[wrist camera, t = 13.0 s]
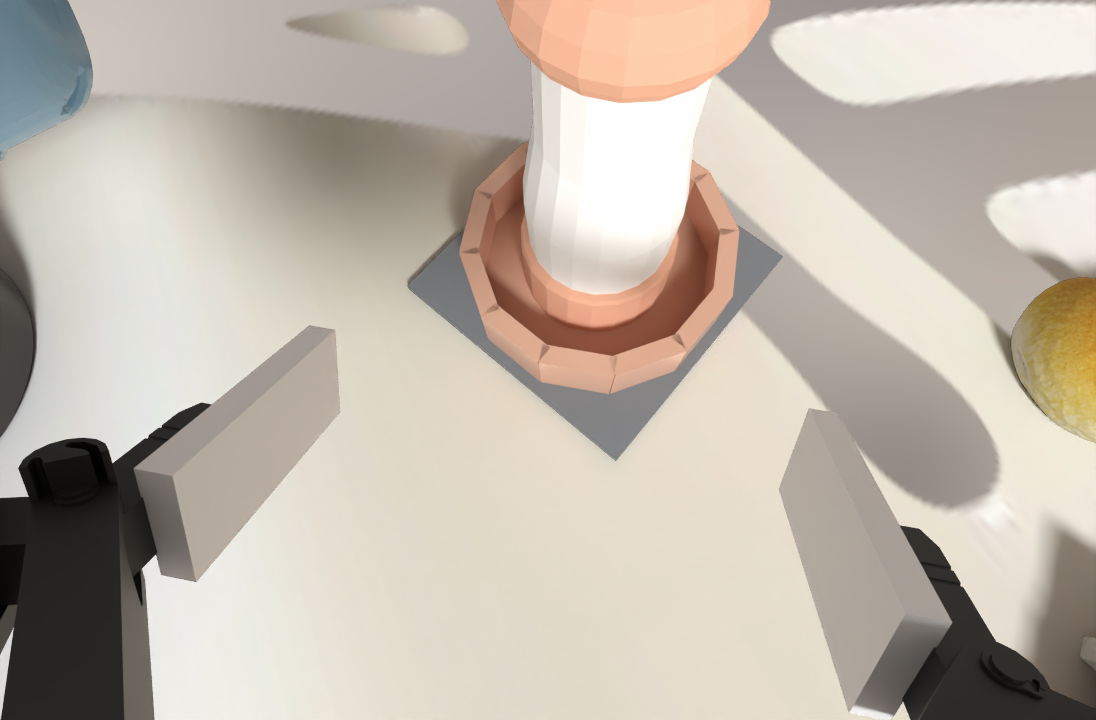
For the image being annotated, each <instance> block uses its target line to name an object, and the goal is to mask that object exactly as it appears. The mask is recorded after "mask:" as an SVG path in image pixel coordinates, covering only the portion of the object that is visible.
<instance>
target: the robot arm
mask: <svg viewBox="0 0 1096 720" xmlns="http://www.w3.org/2000/svg"><path fill="white" fill-rule="evenodd" d="M92 79H93V71H92V64H91V60H90V55H89V51H88V48H87V45H86V42H85V39H84V36H83V34H82V31H81V29H80V27H79V24H78V22H77V20H76V18H75V15H74V13H73V11H72V9H71V7H70V5H69V2H68V1H67V0H0V161H1V160H2V159H3V158H4V156H5V154H6V151H7V150H8V149H10V148H12V147H14V146H16V145H18V144H20V143H22V142H24V141H26V140H28V139H30V138H32V137H34V136H36V135H38V134H39V133H41V132H43V131H45V130H47V129H49V128H51V127H53V126H55V125H57V124H59V123H61V122H63V121H65V120H67V119H69V118H71V117H72V116H74V115H75V114H76V113H77V112H78V111H80V110H81V109H82V107H83V106H84V105H85V103H86V102H87V100H88V98H89V95H90V92H91V88H92ZM32 355H33V331H32V324H31V319H30V315H29V311H28V308H27V305H26V303H25V301H24V299H23V297H22V295H21V293H20V291H19V290H18V288H17V287H16V285H15V284H14V283H13V282H12V280H11V279H10V278H9V277H8V276H7V275H6V274H5V273H4V272H3V271H2V270H0V436H1V435H2V433H3V432H4V430H5V429H6V427H7V426H8V424H9V422H10V420H11V419H12V417H13V415H14V413H15V411H16V409H17V407H18V405H19V403H20V400H21V398H22V396H23V393H24V390H25V387H26V384H27V381H28V377H29V374H30V369H31V363H32ZM339 413H340V403H339V386H338V369H337V352H336V335H335V330H333V329H327V328H321V327H315V326H308V327H307V328H306V329H304V330H303V331H302V332H301V333H299V334H298V335H297V336H296V337H294V338H293V339H292V340H291V341H290V342H288V343H287V344H286V345H285V346H283V347H282V348H281V349H280V350H279V351H277V352H276V353H275V354H274V355H272V356H271V357H270V358H269V359H267V360H266V361H265V362H264V363H263V364H261V365H260V366H259V367H258V368H256V369H255V370H254V371H253V372H251V373H250V374H249V375H248V376H247V377H245V378H244V379H243V380H242V381H240V382H239V383H238V384H237V385H236V386H234V387H233V388H232V389H231V390H229V391H228V392H227V393H226V394H224V395H223V396H222V397H221V398H220V399H218V400H217V401H216V402H215V403H213V404H206V403H199V404H197V405H195V406H192V407H190V408H188V409H185V410H183V411H181V412H179V413H177V414H176V415H175V416H173V417H172V418H171V419H170V420H168V421H167V422H166V423H164V424H163V425H162V428H158V429H157V430H155V431H154V432H153V433H151V434H150V435H149V437H148V439H146V438H145V439H144V440H142V441H141V442H140V443H138V444H137V445H136V446H135V447H133V448H132V449H131V450H129V451H128V452H127V453H125V454H124V455H123V456H122V457H120V458H119V459H118V460H116V461H115V462H114V463H113V464H112V461H111V457H110V454H109V450H108V448H107V446H106V444H105V443H103V442H101V441H99V440H97V439H90V438H76V439H66V440H62V441H59V442H55V443H51V444H48V445H46V446H44V447H42V448H40V449H38V450H35V451H34V452H32V453H31V454H30V455H28V456H27V457H26V458H25V459H23V461H22V463H21V464H20V466H19V468H18V469H19V471H20V474H21V477H22V479H23V482H24V485H25V488H26V490H27V493H28V496H29V497H15V498H0V654H1V652H2V650H3V648H4V646H5V644H6V642H7V640H8V638H9V636H10V634H11V632H12V630H13V627H14V631H13V638H12V645H11V653H10V660H9V667H8V674H7V681H6V688H5V695H4V702H3V709H2V716H1V720H154V706H153V691H152V676H151V662H150V647H149V632H148V617H147V602H146V588H145V578H144V575H143V571H142V568H143V567H144V566H145V565H146V564H147V563H148V562H149V561H150V560H151V559H152V558H153V557H154V556H155V555H156V556H157V560H158V564H159V568H160V572H161V575H164V576H169V577H174V578H179V579H184V580H189V581H194V582H197V581H198V579H199V578H200V577H201V576H202V575H203V574H204V572H205V571H206V570H207V569H208V568H209V566H210V565H211V564H212V563H213V562H214V561H215V559H216V558H217V557H218V556H219V555H220V553H221V552H222V551H223V550H224V549H225V548H226V546H227V545H228V544H229V543H230V542H231V540H232V539H233V538H234V537H235V536H236V535H237V533H238V532H239V531H240V530H241V529H242V527H243V526H244V525H245V524H246V523H247V522H248V520H249V519H250V518H251V517H252V516H253V514H254V513H255V512H256V511H257V510H258V508H259V507H260V506H261V505H262V504H263V503H264V501H265V500H266V499H267V498H268V497H269V495H270V494H271V493H272V492H273V491H274V490H275V488H276V487H277V486H278V485H279V484H280V482H281V481H282V480H283V479H284V478H285V477H286V475H287V474H288V473H289V472H290V471H291V469H292V468H293V467H294V466H295V465H296V464H297V462H298V461H299V460H300V459H301V458H302V456H303V455H304V454H305V453H306V452H307V451H308V449H309V448H310V447H311V446H312V445H313V443H314V442H315V441H316V440H317V439H318V438H319V436H320V435H321V434H322V433H323V432H324V430H325V429H326V428H327V427H328V426H329V424H330V423H331V422H332V421H333V420H334V419H335V417H336V416H337V415H338V414H339ZM779 492H780V495H781V498H782V501H783V504H784V507H785V511H786V514H787V517H788V520H789V523H790V527H791V530H792V533H793V536H794V539H795V542H796V546H797V549H798V552H799V555H800V558H801V562H802V565H803V568H804V571H805V574H806V577H807V581H808V584H809V587H810V590H811V593H812V597H813V600H814V603H815V606H816V609H817V612H818V616H819V619H820V622H821V625H822V628H823V632H824V635H825V638H826V641H827V644H828V647H829V651H830V654H831V657H832V660H833V663H834V667H835V670H836V673H837V676H838V679H839V682H840V686H841V689H842V692H843V695H844V698H845V702H846V705H847V708H848V711H849V713H852V714H857V715H862V716H867V717H872V718H877V719H882V720H892V718H893V717H894V715H895V713H896V712H897V710H898V709H899V707H900V705H901V704H902V702H904V704H905V707H906V709H907V712H908V714H909V717H910V719H911V720H1096V709H1094V708H1092V707H1089V706H1087V705H1085V704H1082V703H1080V702H1078V701H1075V700H1073V699H1071V698H1068V697H1066V696H1064V695H1061V694H1059V693H1057V692H1055V691H1053V690H1051V689H1050V687H1049V685H1048V683H1047V682H1046V680H1045V678H1044V676H1043V675H1042V674H1041V673H1040V672H1039V671H1038V670H1037V669H1036V668H1035V667H1034V665H1033V664H1032V663H1031V662H1029V661H1028V660H1027V659H1025V658H1024V657H1023V656H1021V655H1020V654H1019V653H1017V652H1016V651H1014V650H1012V649H1010V648H1008V647H1006V646H1004V645H1002V644H1000V643H998V642H996V641H995V639H994V637H993V636H992V634H991V633H990V631H989V629H988V628H987V626H986V624H985V623H984V621H983V619H982V618H981V616H980V614H979V613H978V611H977V609H976V608H975V606H974V604H973V603H972V601H971V599H970V598H969V596H968V594H967V593H966V591H965V589H964V588H963V587H961V586H960V584H961V583H960V581H959V579H958V578H957V576H956V574H955V573H954V571H951V566H950V564H949V563H948V561H947V559H946V558H945V556H944V555H943V553H942V551H941V550H940V548H939V547H938V546H937V545H936V544H935V543H934V542H933V541H932V540H931V539H930V538H929V537H928V536H926V535H925V534H924V533H923V532H922V531H921V530H920V529H917V528H911V527H906V526H900V525H899V524H898V522H897V520H896V518H895V516H894V515H893V513H892V511H891V509H890V507H889V505H888V504H887V502H886V500H885V498H884V496H883V494H882V493H881V491H880V489H879V487H878V485H877V483H876V482H875V480H874V478H873V476H872V474H871V472H870V471H869V469H868V467H867V465H866V463H865V461H864V460H863V458H862V456H861V454H860V452H859V450H858V449H857V447H856V445H855V443H854V441H853V439H852V438H851V436H850V434H849V432H848V430H847V428H846V427H845V425H844V423H843V421H842V419H841V417H840V416H839V414H838V413H833V412H827V411H821V410H815V409H809V410H808V412H807V415H806V418H805V420H804V423H803V426H802V428H801V431H800V434H799V436H798V439H797V442H796V444H795V447H794V450H793V453H792V455H791V458H790V461H789V463H788V466H787V469H786V471H785V474H784V477H783V479H782V482H781V485H780V487H779Z"/></svg>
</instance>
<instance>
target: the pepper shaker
mask: <svg viewBox="0 0 1096 720" xmlns="http://www.w3.org/2000/svg"><path fill="white" fill-rule="evenodd" d="M496 2H497V4H498V6H499V8H500V10H501V12H502V14H503V16H504V19H505V21H506V23H507V25H508V27H509V29H510V31H511V33H512V35H513V37H514V39H515V41H516V43H517V45H518V47H519V48H520V49H521V50H522V52H523V53H524V54H525V55H526V56H527V57H528V58H529V59H530V60H531V81H532V101H533V122H532V127H531V133H530V139H529V145H528V151H527V157H526V164H525V170H524V176H523V197H524V208H525V214H524V217H523V220H522V223H521V247H522V256H523V264H524V272H525V280H526V282H527V285H528V287H529V289H530V292H531V294H532V297H533V299H534V300H535V301H536V302H537V303H538V304H539V306H540V307H541V308H542V309H543V310H544V311H545V312H546V314H547V315H549V316H550V317H552V318H554V319H556V320H557V321H559V322H561V323H562V324H564V325H566V326H568V327H572V328H576V329H580V330H584V331H589V332H592V331H610V330H615V329H617V328H620V327H623V326H625V325H628V324H631V323H633V322H635V321H636V320H637V319H639V318H640V317H641V316H642V315H644V314H645V313H646V312H647V311H649V310H650V309H651V308H652V306H653V305H654V303H655V301H656V300H657V298H658V297H659V295H660V294H661V292H662V290H663V288H664V285H665V283H666V280H667V278H668V275H669V273H670V270H671V268H672V265H673V263H674V259H675V255H676V250H677V246H678V241H679V237H678V227H679V225H680V223H681V221H682V218H683V216H684V212H685V207H686V203H687V198H688V194H689V183H690V172H691V161H692V149H693V138H694V134H695V131H696V128H697V124H698V121H699V118H700V115H701V112H702V109H703V105H704V102H705V99H706V96H707V93H708V89H709V86H710V83H711V80H712V77H713V76H714V75H716V74H717V73H718V72H720V71H721V70H722V69H724V68H725V67H727V66H728V65H729V64H731V63H732V62H733V61H734V60H735V59H736V58H737V57H738V56H739V54H740V53H741V52H742V51H743V50H744V49H745V48H746V46H747V45H748V44H749V42H750V40H751V39H752V38H753V36H754V35H755V33H756V32H757V31H758V29H759V27H760V26H761V25H762V23H763V22H764V20H765V19H766V17H767V16H768V12H769V7H770V2H771V0H496Z"/></svg>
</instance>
